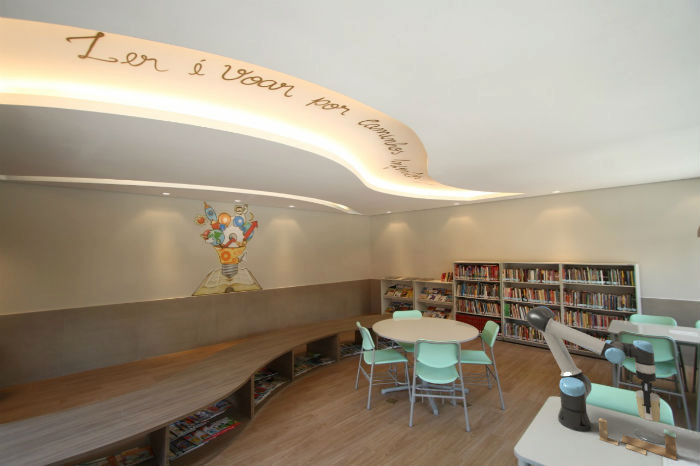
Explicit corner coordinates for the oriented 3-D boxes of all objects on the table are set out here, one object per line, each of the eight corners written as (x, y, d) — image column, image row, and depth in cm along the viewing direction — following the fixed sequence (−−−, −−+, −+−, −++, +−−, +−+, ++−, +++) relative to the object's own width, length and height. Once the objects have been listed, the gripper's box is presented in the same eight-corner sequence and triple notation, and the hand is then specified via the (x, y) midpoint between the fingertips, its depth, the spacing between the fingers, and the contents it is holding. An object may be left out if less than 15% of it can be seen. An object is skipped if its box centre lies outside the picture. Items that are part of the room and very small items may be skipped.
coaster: (633, 436, 157) (633, 436, 157) (635, 427, 165) (635, 426, 165) (667, 447, 148) (667, 446, 148) (667, 436, 156) (667, 436, 156)
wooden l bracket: (621, 442, 152) (619, 421, 153) (622, 435, 158) (621, 415, 159) (677, 460, 138) (675, 437, 139) (677, 452, 144) (675, 430, 145)
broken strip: (599, 439, 155) (598, 420, 155) (600, 436, 158) (599, 417, 158) (645, 455, 143) (644, 434, 143) (646, 451, 145) (644, 431, 146)
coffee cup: (667, 423, 151) (665, 399, 152) (645, 421, 154) (643, 397, 154) (653, 414, 160) (651, 390, 161) (632, 412, 163) (630, 389, 163)
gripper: (655, 379, 149) (659, 427, 147) (656, 367, 163) (659, 410, 162) (634, 375, 154) (637, 421, 152) (637, 364, 169) (640, 405, 167)
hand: (649, 415), depth 157 cm, fingers closed on coffee cup, 9 cm apart
